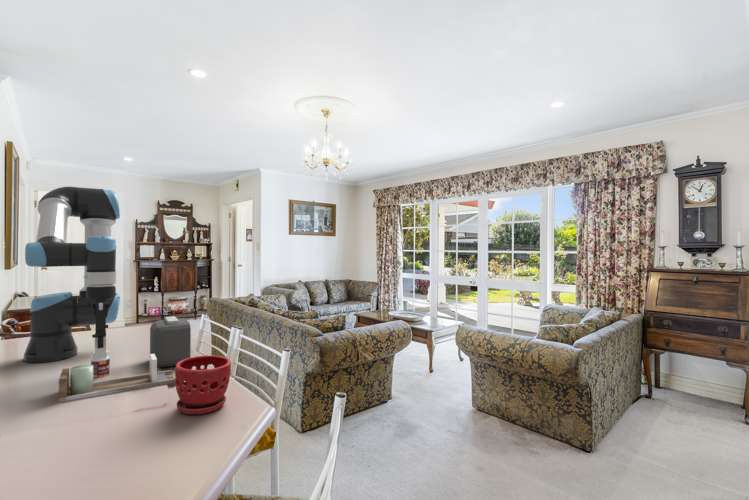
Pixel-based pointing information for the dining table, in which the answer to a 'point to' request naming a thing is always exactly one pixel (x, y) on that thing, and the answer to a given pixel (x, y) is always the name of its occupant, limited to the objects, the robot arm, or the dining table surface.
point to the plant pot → (202, 383)
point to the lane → (111, 385)
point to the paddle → (155, 370)
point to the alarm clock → (170, 341)
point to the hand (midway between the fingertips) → (100, 353)
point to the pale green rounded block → (81, 379)
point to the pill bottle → (100, 366)
